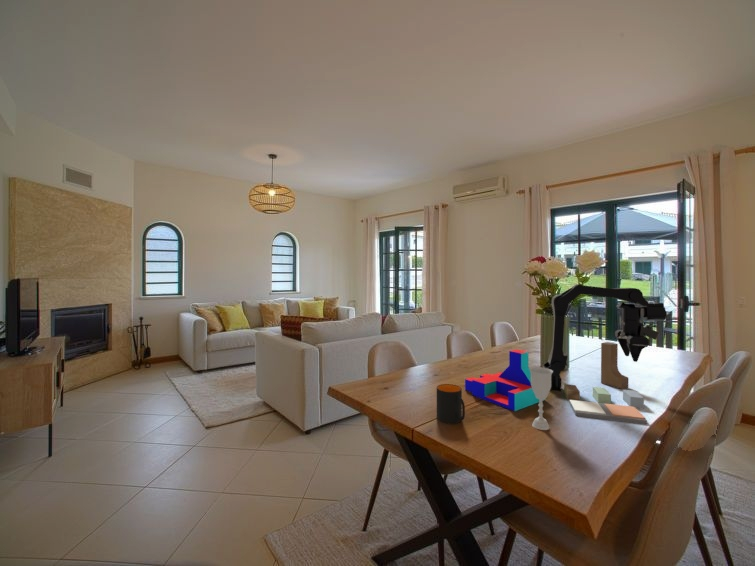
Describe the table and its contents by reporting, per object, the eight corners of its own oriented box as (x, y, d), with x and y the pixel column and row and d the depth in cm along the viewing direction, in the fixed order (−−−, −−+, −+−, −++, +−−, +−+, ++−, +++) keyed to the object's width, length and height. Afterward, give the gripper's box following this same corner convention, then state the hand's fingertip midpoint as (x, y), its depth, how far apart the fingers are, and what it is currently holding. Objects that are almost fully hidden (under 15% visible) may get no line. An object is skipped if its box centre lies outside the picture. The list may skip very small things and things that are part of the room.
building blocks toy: (490, 383, 149) (490, 343, 149) (544, 400, 128) (544, 353, 128) (461, 391, 139) (461, 348, 139) (514, 412, 118) (514, 360, 118)
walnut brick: (567, 400, 128) (567, 390, 128) (564, 393, 136) (564, 384, 136) (579, 402, 127) (579, 391, 127) (575, 394, 134) (575, 385, 134)
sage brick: (598, 404, 125) (598, 393, 124) (592, 396, 132) (592, 386, 132) (610, 405, 123) (610, 394, 123) (604, 397, 131) (604, 387, 131)
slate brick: (630, 407, 121) (630, 396, 121) (622, 399, 129) (622, 389, 128) (643, 409, 120) (643, 398, 120) (635, 401, 127) (635, 390, 127)
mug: (453, 430, 104) (453, 397, 104) (431, 416, 115) (431, 386, 114) (474, 425, 107) (474, 393, 107) (451, 411, 118) (451, 382, 118)
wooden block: (628, 387, 141) (629, 345, 141) (622, 389, 140) (622, 346, 139) (607, 381, 150) (607, 341, 149) (600, 383, 148) (600, 342, 148)
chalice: (532, 419, 111) (532, 365, 111) (555, 425, 107) (555, 369, 106) (526, 427, 105) (526, 370, 105) (549, 433, 101) (550, 374, 101)
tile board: (575, 415, 114) (575, 410, 114) (569, 402, 125) (569, 398, 125) (646, 424, 107) (646, 419, 107) (633, 410, 118) (633, 405, 118)
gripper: (667, 323, 120) (667, 366, 121) (646, 317, 138) (646, 355, 138) (630, 322, 124) (630, 363, 125) (614, 316, 142) (614, 353, 142)
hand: (631, 358), depth 132 cm, fingers open, 9 cm apart
